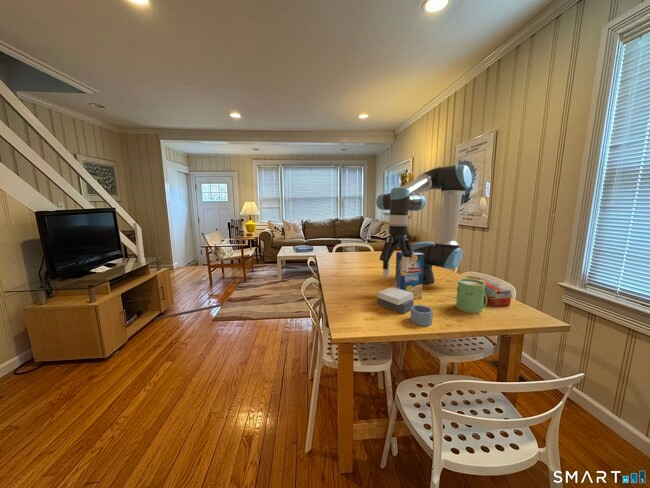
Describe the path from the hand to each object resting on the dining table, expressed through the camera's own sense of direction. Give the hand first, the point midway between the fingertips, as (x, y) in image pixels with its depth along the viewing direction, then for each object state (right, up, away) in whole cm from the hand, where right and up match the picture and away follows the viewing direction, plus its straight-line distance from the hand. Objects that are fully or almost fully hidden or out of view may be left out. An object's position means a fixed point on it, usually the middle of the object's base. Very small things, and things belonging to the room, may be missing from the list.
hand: (395, 273), depth 110 cm
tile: (0, -11, +2) cm, 11 cm away
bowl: (+7, -17, -11) cm, 22 cm away
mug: (+33, -16, -1) cm, 36 cm away
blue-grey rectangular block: (0, -15, +3) cm, 15 cm away
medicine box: (+47, -14, +10) cm, 50 cm away
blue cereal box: (+10, -13, +14) cm, 22 cm away
